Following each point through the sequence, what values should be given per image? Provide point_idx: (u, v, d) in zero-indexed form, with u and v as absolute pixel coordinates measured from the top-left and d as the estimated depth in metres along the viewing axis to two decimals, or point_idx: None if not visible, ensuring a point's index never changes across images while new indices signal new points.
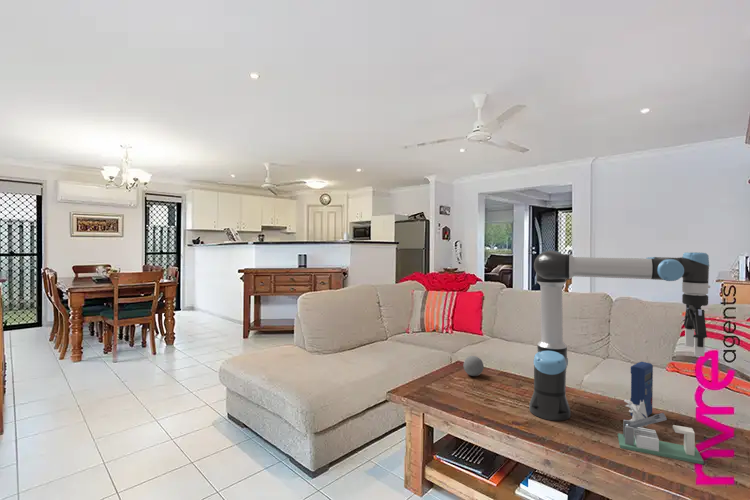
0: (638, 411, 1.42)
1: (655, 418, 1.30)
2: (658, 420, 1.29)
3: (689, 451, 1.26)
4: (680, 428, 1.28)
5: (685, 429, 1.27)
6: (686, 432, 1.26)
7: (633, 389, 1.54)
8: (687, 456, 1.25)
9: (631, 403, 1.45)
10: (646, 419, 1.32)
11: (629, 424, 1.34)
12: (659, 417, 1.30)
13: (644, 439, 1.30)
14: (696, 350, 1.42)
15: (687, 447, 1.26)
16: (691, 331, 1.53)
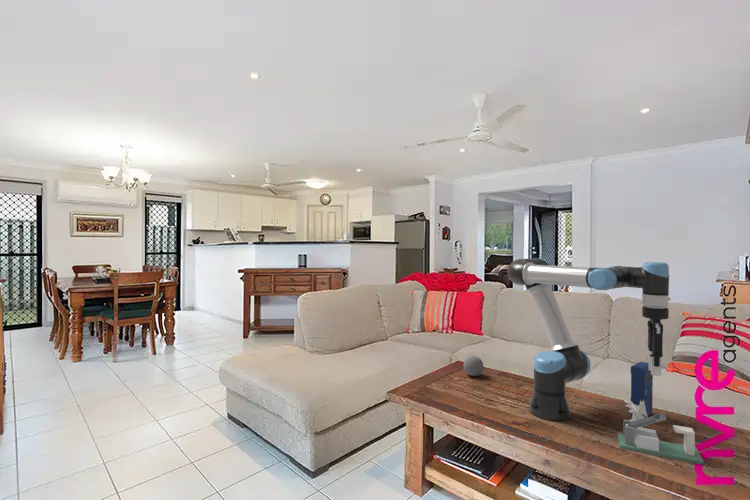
0: (638, 411, 1.42)
1: (655, 418, 1.30)
2: (658, 420, 1.29)
3: (689, 451, 1.26)
4: (680, 428, 1.28)
5: (685, 429, 1.27)
6: (686, 432, 1.26)
7: (633, 389, 1.54)
8: (687, 456, 1.25)
9: (631, 403, 1.45)
10: (646, 419, 1.32)
11: (629, 424, 1.34)
12: (659, 417, 1.30)
13: (644, 439, 1.30)
14: (653, 369, 1.36)
15: (687, 447, 1.26)
16: None
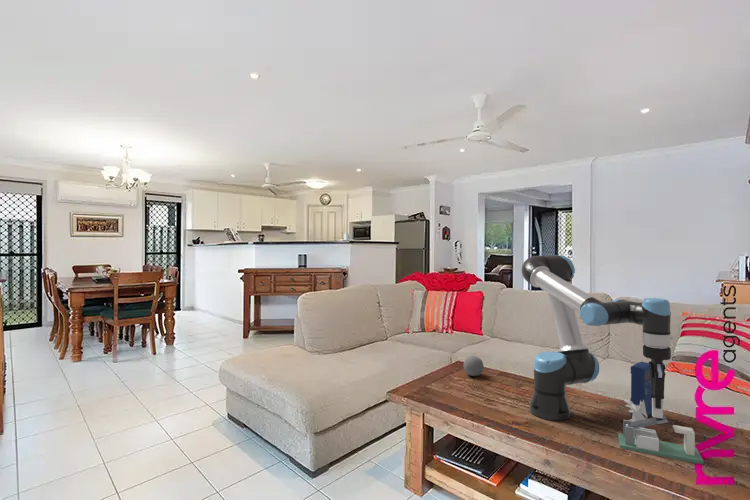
0: (638, 411, 1.42)
1: (656, 420, 1.30)
2: (659, 422, 1.29)
3: (689, 451, 1.26)
4: (680, 428, 1.28)
5: (685, 429, 1.27)
6: (686, 432, 1.26)
7: (633, 389, 1.54)
8: (687, 456, 1.25)
9: (631, 403, 1.45)
10: (647, 420, 1.32)
11: (629, 424, 1.34)
12: (660, 419, 1.30)
13: (644, 439, 1.30)
14: (654, 411, 1.30)
15: (687, 447, 1.26)
16: None
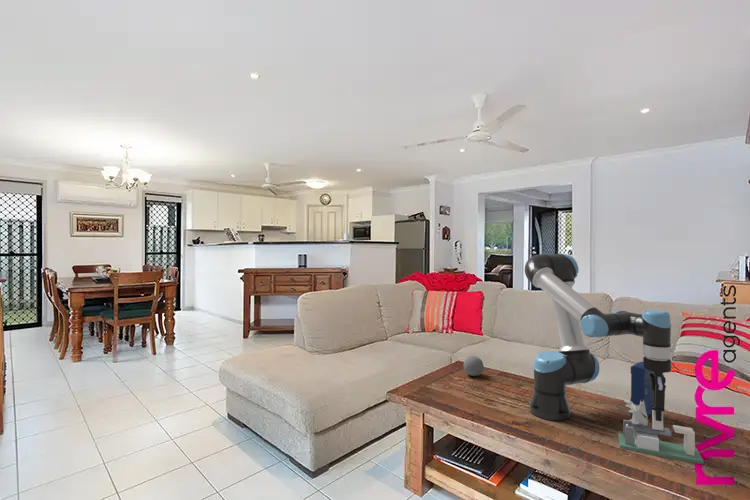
0: (638, 411, 1.42)
1: (659, 430, 1.30)
2: (662, 433, 1.29)
3: (689, 451, 1.26)
4: (680, 428, 1.28)
5: (685, 429, 1.27)
6: (686, 432, 1.26)
7: (633, 389, 1.54)
8: (687, 456, 1.25)
9: (631, 403, 1.45)
10: (649, 427, 1.32)
11: (630, 425, 1.34)
12: (664, 431, 1.29)
13: (644, 439, 1.30)
14: (654, 424, 1.30)
15: (687, 447, 1.26)
16: None
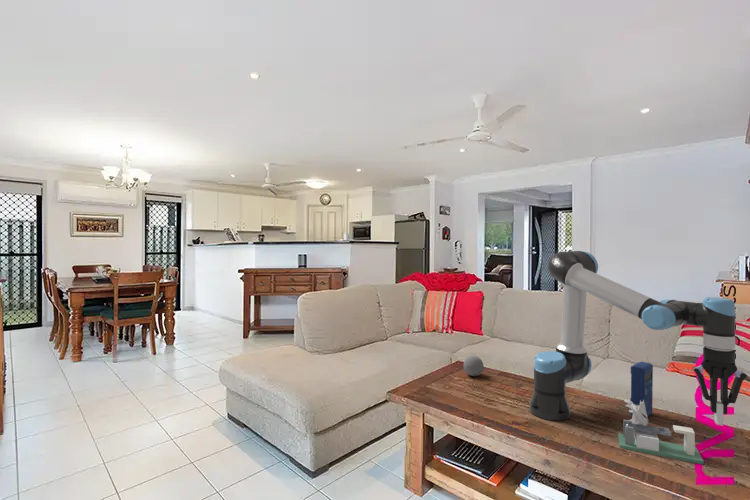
0: (638, 411, 1.42)
1: (659, 430, 1.30)
2: (662, 433, 1.29)
3: (689, 451, 1.26)
4: (680, 428, 1.28)
5: (685, 429, 1.27)
6: (686, 432, 1.26)
7: (633, 389, 1.54)
8: (687, 456, 1.25)
9: (631, 403, 1.45)
10: (649, 427, 1.32)
11: (630, 425, 1.34)
12: (664, 431, 1.29)
13: (644, 439, 1.30)
14: None
15: (687, 447, 1.26)
16: None
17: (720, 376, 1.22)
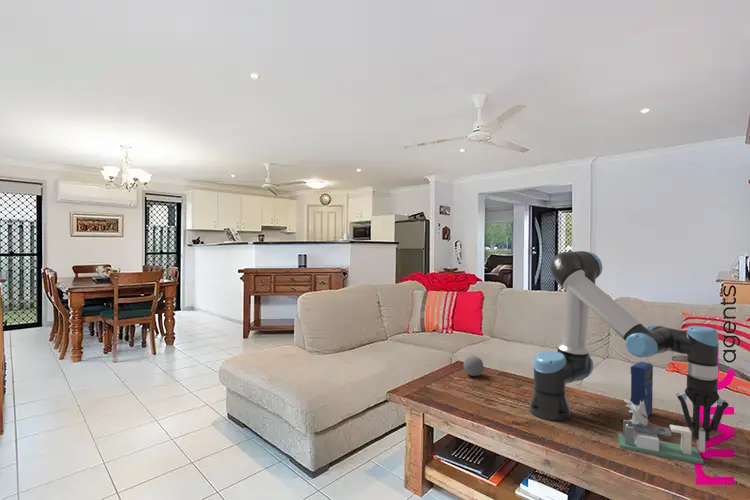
0: (638, 411, 1.42)
1: (659, 430, 1.30)
2: (662, 433, 1.29)
3: (685, 451, 1.26)
4: (677, 428, 1.28)
5: (682, 428, 1.28)
6: (683, 431, 1.26)
7: (633, 389, 1.54)
8: (687, 456, 1.25)
9: (631, 403, 1.45)
10: (649, 427, 1.32)
11: (630, 425, 1.34)
12: (664, 431, 1.29)
13: (644, 439, 1.30)
14: None
15: (684, 446, 1.26)
16: None
17: (703, 404, 1.24)
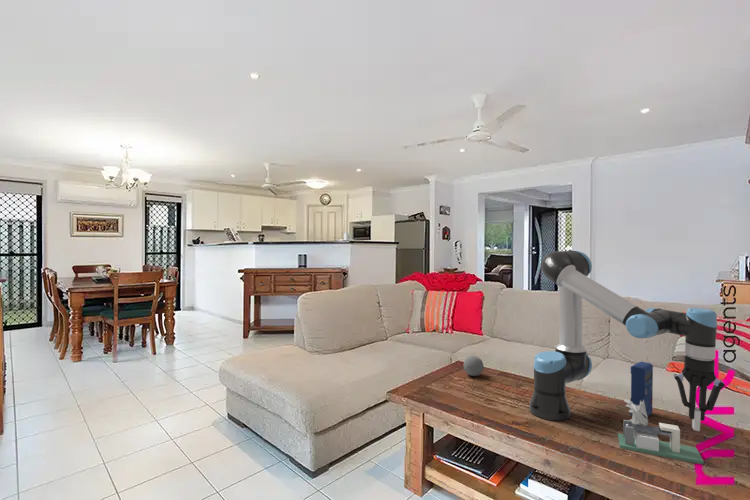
0: (638, 411, 1.42)
1: (659, 430, 1.30)
2: (662, 433, 1.29)
3: (674, 449, 1.27)
4: (666, 426, 1.29)
5: (671, 426, 1.29)
6: (672, 429, 1.28)
7: (633, 389, 1.54)
8: (687, 456, 1.25)
9: (631, 403, 1.45)
10: (649, 427, 1.32)
11: (630, 425, 1.34)
12: (664, 431, 1.29)
13: (644, 439, 1.30)
14: None
15: (673, 444, 1.28)
16: None
17: (699, 384, 1.26)
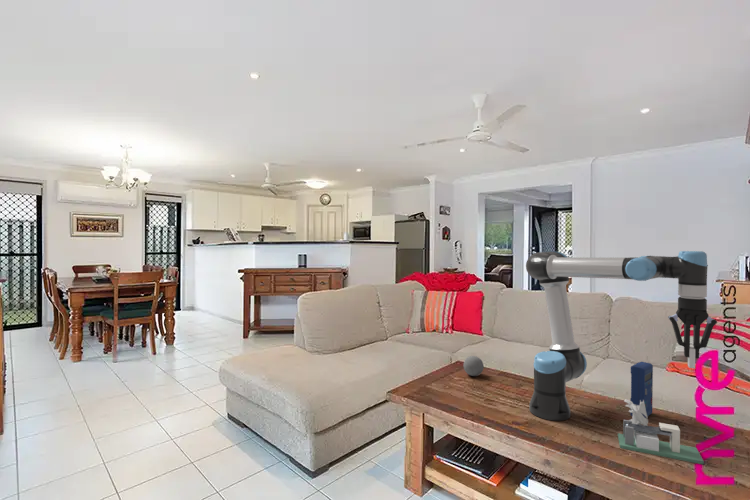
0: (638, 411, 1.42)
1: (659, 430, 1.30)
2: (662, 433, 1.29)
3: (674, 449, 1.27)
4: (666, 426, 1.29)
5: (671, 426, 1.29)
6: (672, 429, 1.28)
7: (633, 389, 1.54)
8: (687, 456, 1.25)
9: (631, 403, 1.45)
10: (649, 427, 1.32)
11: (630, 425, 1.34)
12: (664, 431, 1.29)
13: (644, 439, 1.30)
14: None
15: (673, 444, 1.28)
16: None
17: (693, 323, 1.32)
